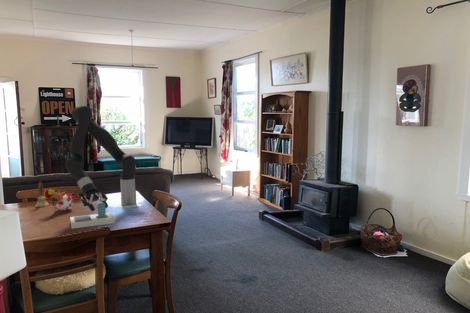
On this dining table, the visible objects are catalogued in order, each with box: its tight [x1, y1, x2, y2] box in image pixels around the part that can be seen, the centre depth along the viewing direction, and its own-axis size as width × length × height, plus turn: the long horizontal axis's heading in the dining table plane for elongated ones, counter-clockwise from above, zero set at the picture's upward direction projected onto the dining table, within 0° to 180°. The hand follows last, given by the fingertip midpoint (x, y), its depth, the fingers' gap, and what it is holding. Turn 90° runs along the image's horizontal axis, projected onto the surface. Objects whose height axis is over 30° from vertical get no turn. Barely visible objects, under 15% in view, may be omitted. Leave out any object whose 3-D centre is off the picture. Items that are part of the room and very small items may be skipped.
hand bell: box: [34, 181, 50, 208], centre depth 238 cm, size 8×8×16 cm
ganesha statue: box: [43, 187, 75, 212], centre depth 224 cm, size 14×14×20 cm
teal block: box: [97, 202, 107, 219], centre depth 202 cm, size 4×4×10 cm
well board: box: [69, 211, 116, 229], centre depth 200 cm, size 22×14×3 cm, turn 117°
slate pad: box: [73, 214, 91, 222], centre depth 198 cm, size 8×10×1 cm
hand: (100, 208), depth 202 cm, fingers open, 8 cm apart
